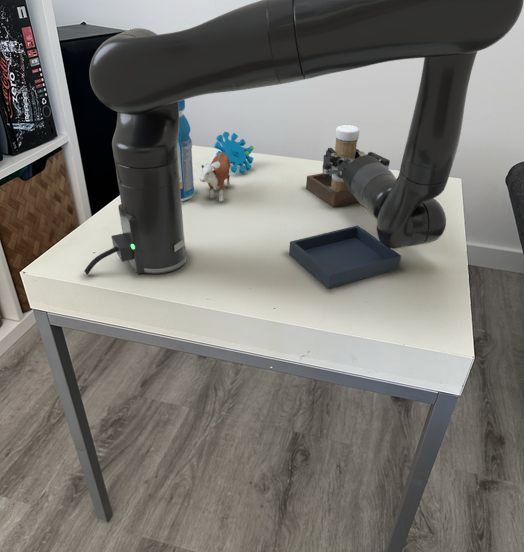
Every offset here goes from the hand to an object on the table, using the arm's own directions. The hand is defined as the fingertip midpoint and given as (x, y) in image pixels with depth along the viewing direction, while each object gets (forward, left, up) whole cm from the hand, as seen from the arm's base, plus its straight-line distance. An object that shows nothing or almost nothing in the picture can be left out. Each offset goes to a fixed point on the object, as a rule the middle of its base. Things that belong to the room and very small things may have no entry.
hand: (340, 152), depth 108 cm
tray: (-17, -27, -8) cm, 32 cm away
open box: (-1, -3, -8) cm, 8 cm away
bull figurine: (-25, +7, -8) cm, 27 cm away
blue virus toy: (-15, +19, -8) cm, 26 cm away
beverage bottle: (-33, +11, -8) cm, 36 cm away
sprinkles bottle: (-1, -3, -8) cm, 8 cm away
